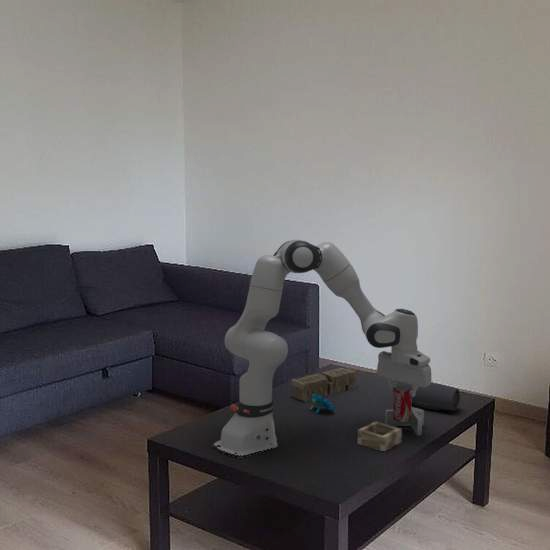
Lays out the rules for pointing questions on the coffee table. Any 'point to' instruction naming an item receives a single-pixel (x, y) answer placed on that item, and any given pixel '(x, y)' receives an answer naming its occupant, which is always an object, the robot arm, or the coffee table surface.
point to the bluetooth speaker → (435, 396)
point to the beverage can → (402, 404)
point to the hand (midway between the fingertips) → (402, 393)
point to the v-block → (415, 421)
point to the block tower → (324, 383)
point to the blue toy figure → (321, 403)
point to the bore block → (379, 436)
